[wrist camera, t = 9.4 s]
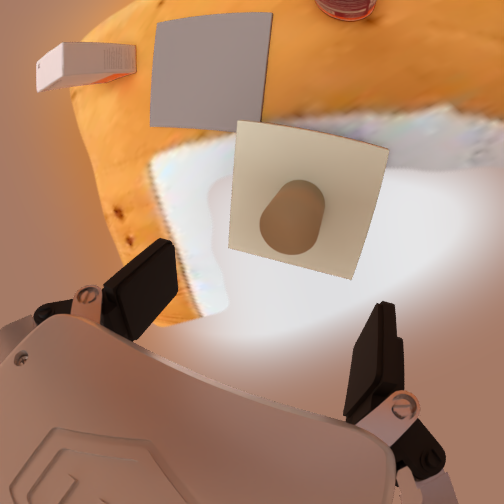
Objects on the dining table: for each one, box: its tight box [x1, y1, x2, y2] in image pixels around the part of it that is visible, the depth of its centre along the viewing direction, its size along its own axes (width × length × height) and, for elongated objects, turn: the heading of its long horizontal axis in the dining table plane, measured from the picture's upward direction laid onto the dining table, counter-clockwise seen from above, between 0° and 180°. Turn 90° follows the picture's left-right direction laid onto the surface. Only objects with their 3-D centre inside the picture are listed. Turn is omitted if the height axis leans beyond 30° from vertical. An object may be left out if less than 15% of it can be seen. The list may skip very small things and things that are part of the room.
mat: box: [150, 12, 273, 132], centre depth 25 cm, size 14×14×1 cm
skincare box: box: [36, 42, 136, 92], centre depth 22 cm, size 6×4×12 cm
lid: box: [228, 120, 389, 280], centre depth 20 cm, size 12×12×6 cm
